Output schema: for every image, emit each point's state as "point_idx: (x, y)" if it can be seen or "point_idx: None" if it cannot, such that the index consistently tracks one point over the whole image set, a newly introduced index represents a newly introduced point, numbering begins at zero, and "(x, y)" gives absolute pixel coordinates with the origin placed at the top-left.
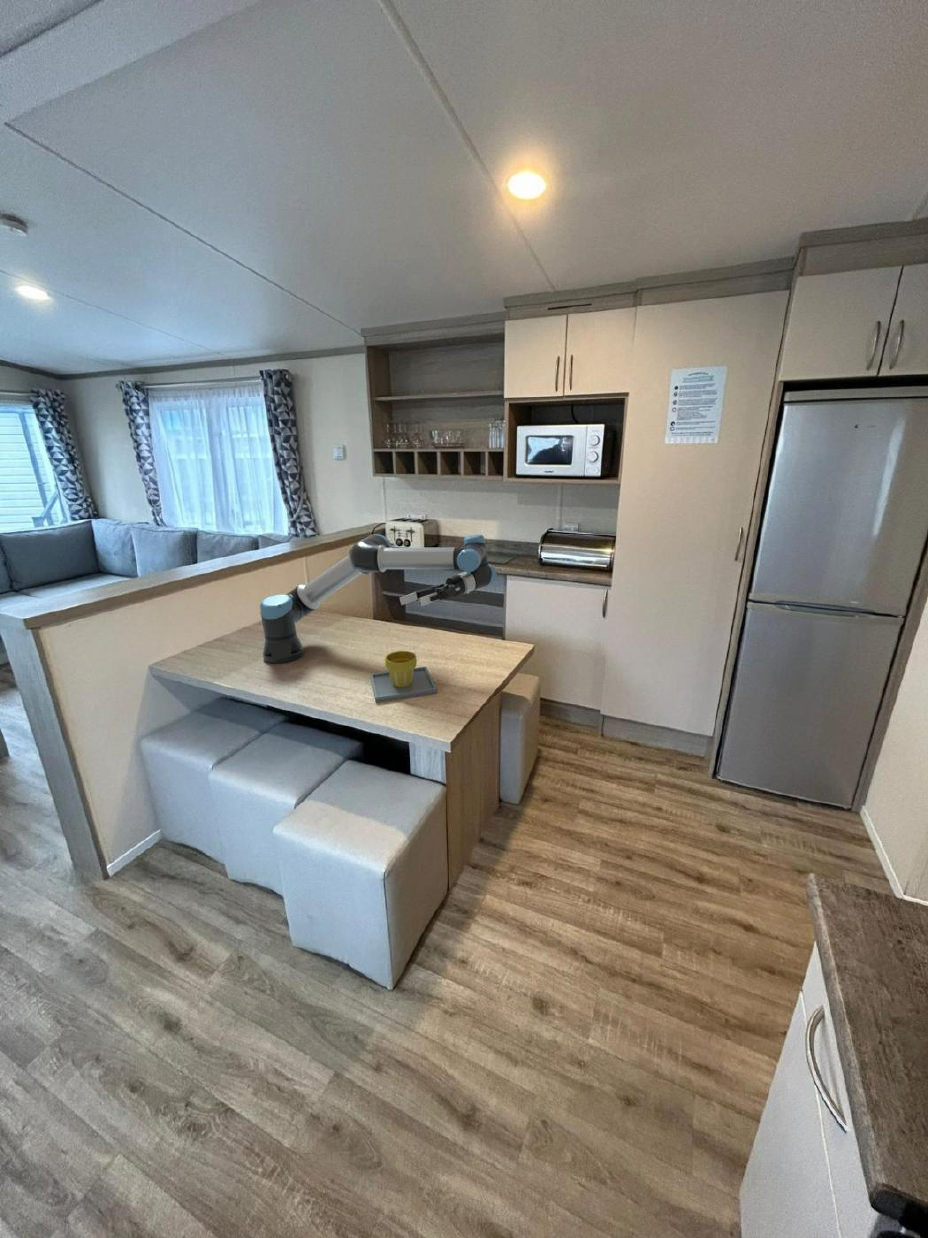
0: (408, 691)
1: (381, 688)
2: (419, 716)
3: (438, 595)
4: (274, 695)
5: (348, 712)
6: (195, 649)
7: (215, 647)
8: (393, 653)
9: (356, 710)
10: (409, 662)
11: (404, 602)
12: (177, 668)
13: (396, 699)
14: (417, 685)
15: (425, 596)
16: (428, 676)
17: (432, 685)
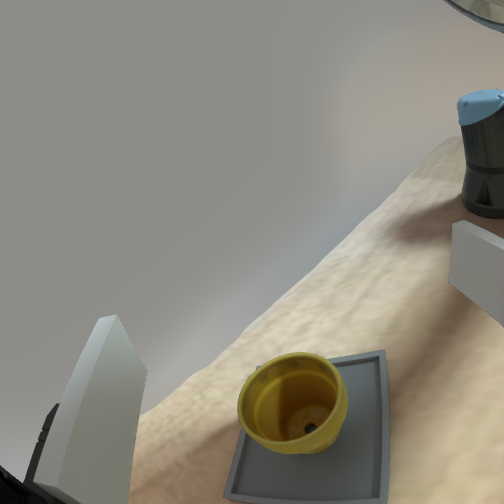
0: None
1: None
2: (171, 435)
3: (31, 480)
4: (353, 233)
5: (252, 332)
6: None
7: None
8: (334, 375)
9: (251, 342)
10: (238, 416)
11: (464, 281)
12: (437, 148)
13: None
14: (280, 464)
15: (83, 353)
16: (309, 501)
17: (252, 496)
